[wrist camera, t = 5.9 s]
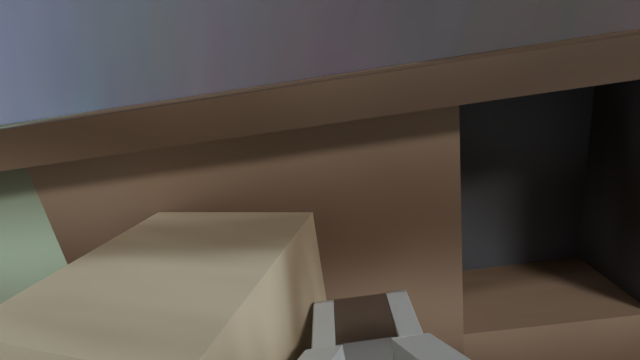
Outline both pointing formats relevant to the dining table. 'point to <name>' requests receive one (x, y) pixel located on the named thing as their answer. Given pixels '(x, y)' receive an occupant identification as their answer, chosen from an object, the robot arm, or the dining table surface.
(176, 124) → the board
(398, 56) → the dining table surface
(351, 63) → the dining table surface
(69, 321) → the maple block
